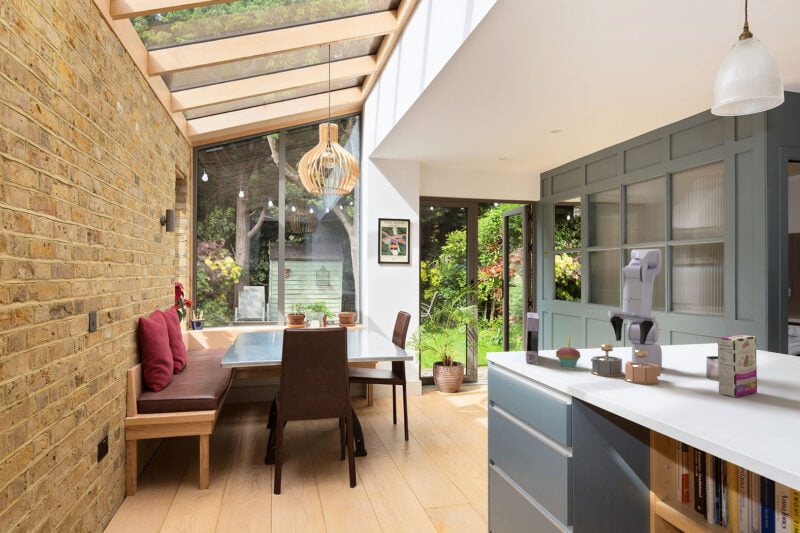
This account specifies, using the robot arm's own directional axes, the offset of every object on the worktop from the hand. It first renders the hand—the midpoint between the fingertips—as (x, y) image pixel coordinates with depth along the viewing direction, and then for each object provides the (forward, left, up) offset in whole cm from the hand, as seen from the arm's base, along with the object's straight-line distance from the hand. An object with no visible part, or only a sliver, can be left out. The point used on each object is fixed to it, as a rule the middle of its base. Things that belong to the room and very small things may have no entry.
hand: (630, 342), depth 161 cm
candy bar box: (-18, +22, -12) cm, 31 cm away
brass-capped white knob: (-2, +2, -8) cm, 8 cm away
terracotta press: (-2, +2, -12) cm, 12 cm away
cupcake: (+9, -23, -12) cm, 27 cm away
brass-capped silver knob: (+2, -10, -8) cm, 13 cm away
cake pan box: (+15, -39, -12) cm, 43 cm away
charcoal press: (+2, -10, -12) cm, 16 cm away
